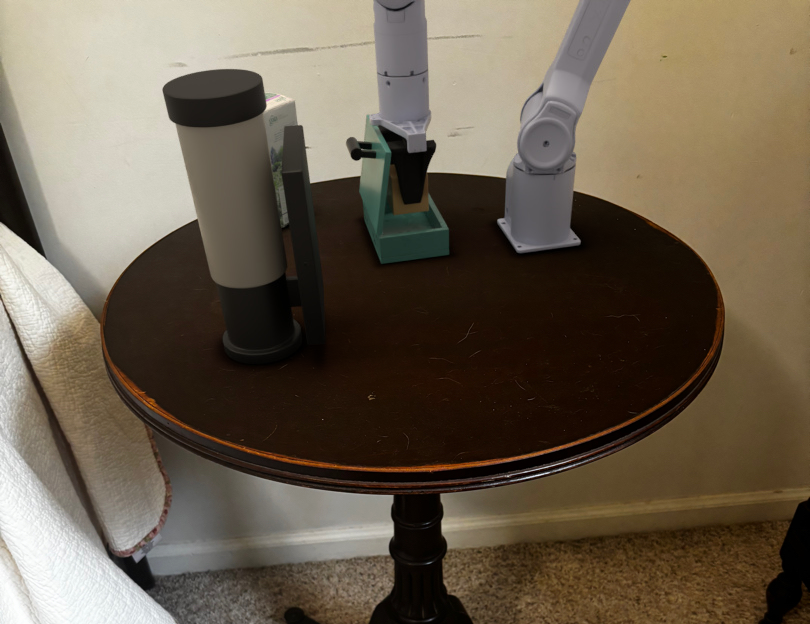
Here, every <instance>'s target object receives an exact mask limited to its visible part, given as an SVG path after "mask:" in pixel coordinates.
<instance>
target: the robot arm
mask: <svg viewBox="0 0 810 624" xmlns="http://www.w3.org/2000/svg"><path fill="white" fill-rule="evenodd" d="M372 2H373V3H372V4H373V5H372V9H373V16H374V17H373V18H374V21H373V38H374V51H375V52H374V53H375V66H376V67H375V68H376V69H375V70H376V79H377V95H378V97H377V98H378V107H379V108H378V110H379V111H378V112H376V113H372V114H368V115H369V119H370V123H371V125H373V126H378V128H379V130H380V131H381V133H382V135H383V137H384V139H385V141H386V143H387V145H388V147H389V149H390V151H391V161H390V165H393V164H394V166H395V169H396V173H397V177H398V182H399V188H400V193H401V197H402V200H403V202H404V205H408V204H415V203H421V200H422V196H423V190H424V184H425V179H426V174H428V169H429V167H430V163H431V161H432V159H433V157H434V155H435V153H436V149H437V143H436V141H435V140H434V139H427V131H428V128H429V126H430V123H431V121H432V111H431V109H430V87H429V86H430V85H429V82H430V81H429V77H430V76H429V50H428V49H429V48H428V47H429V46H428V45H429V44H428V43H429V42H428V20H427V17H426V4H425V2H426V1H425V0H373V1H372ZM630 3H631V0H579V1H578V3H577V5H576V7H575V10H574V13H573V14H572V17H571V19H570V22H569V24H568V26H567V28H566V30H565V33H564V35H563V38H562V40H561V43H560V45H559V48H558V50H557V52H556V54H555V56H554V58H553V61H552V62H551V64H550V65H549V67H548V69H547V71H545V74H544V76H543V79H542V81H541V83H540V84H539V86H538V87H537V89H536V90H534V91H533V92H532V93H531V94H530V95H529V96H528V97H527V98H526V100H525V101H524V103H523V104H522V107H521V110H520V114H519V115H520V116H519V122H520V127H519V131H518V134H517V140H516V146H517V147H516V149H517V153H515V155H514V156H513V158H511V160H510V162H509V164H508V167H507V169H506V174H505V201H504V217H503V218H498V219H497V221H496V223H497V225H498V226H499V228H500V229H501V231H502V233H503V234H504V235H505V237H506V238H507V240H508V241H509V243H510V244H511V246H512V248H513V249H514V250H515V251H516V253H518V254H525V253H534V252H540V251H541V252H542V251H548V250H557V249H564V248H569V247H578V246H580V245H581V242H582V241H581V239H580V238H579V237H578V236H577V234H575V232H574V231H573V230H572V228H571V219H572V210H573V200H574V198H573V197H574V189H575V178H576V170H577V169H576V168H577V167H576V166H577V154H576V152H575V151H574V150H575V147H576V132H577V131H576V130H577V125H578V123H579V120H580V118H581V116H582V113H583V111H584V108H585V105H586V101H587V98H588V96H589V92H590V90H591V89H590V88H591V85H592V84H593V81H594V79H595V77H596V75H597V72H598V70H599V68H600V66H601V65H602V63H603V60H604V58H605V56H606V53H607V51H608V50H609V47H610V45H611V44H612V41H613V39H614V36H615V35H616V32H617V30H618V28H619V26H620V23H621V21H622V19H623V17H624V15H625V13H626V12H627V9H628V7H629V5H630Z"/></svg>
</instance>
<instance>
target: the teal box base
mask: <svg viewBox="0 0 810 624" xmlns="http://www.w3.org/2000/svg"><path fill="white" fill-rule="evenodd" d="M428 197H429V211H424V212H416V213H408V214H401V215H393V213H392V210H391V208H390V206H389V204H388V202H387V195H386V204H385V212H384V221H383V229H382V235H377V234H376V232H375V230H374V227H373V225H372V222H371V220H370V217H369V215H368V212H367V210H366V207H365V205H364V202H363V201H362V210H363V211H362V212H363V221H364V223H365V225H366V228H367V231H368V233H369V236H370V238H371V241H372V243H373V247H374V249H375V252H376V254H377V256H378V259H379V262H380V264H381V265H384V264H385V265H386V264H392V263H399V262H405V261H407V262H408V261H413V260H420V259H422V260H423V259H427V258H428V259H429V258H435V257H442V256H449V255H450V229H449V227H448V225H447V223H446V221H445V219H444V218H443V216H442V214H441V212H440V211H439V209H438V207H437V206H436V204H435V202H434V200H433V198H432V197H431V195H430V193H429V192H428Z"/></svg>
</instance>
